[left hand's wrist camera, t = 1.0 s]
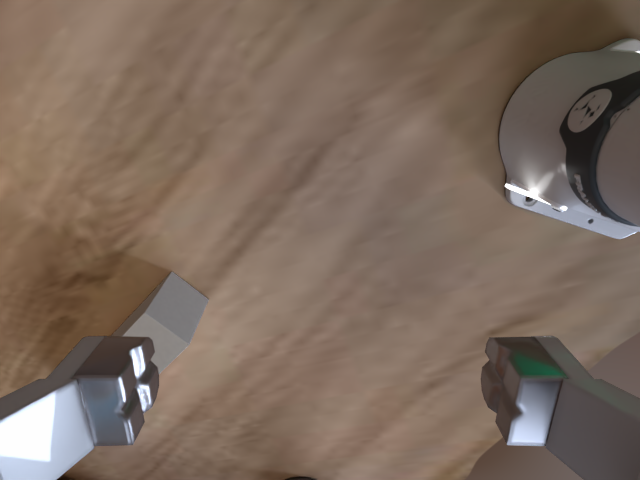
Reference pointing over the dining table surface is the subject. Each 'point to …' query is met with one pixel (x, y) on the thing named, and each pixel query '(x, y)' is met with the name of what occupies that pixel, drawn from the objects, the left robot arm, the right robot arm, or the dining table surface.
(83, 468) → the dining table surface
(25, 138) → the dining table surface
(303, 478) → the right robot arm
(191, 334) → the bar
